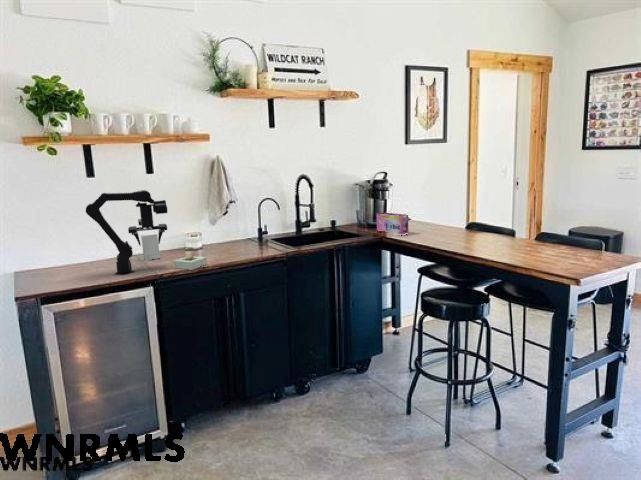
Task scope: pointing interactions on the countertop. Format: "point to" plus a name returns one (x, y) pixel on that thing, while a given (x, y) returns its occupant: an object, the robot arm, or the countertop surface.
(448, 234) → the countertop surface
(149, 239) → the skincare box
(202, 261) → the socket block
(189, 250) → the peg
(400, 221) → the gum box
